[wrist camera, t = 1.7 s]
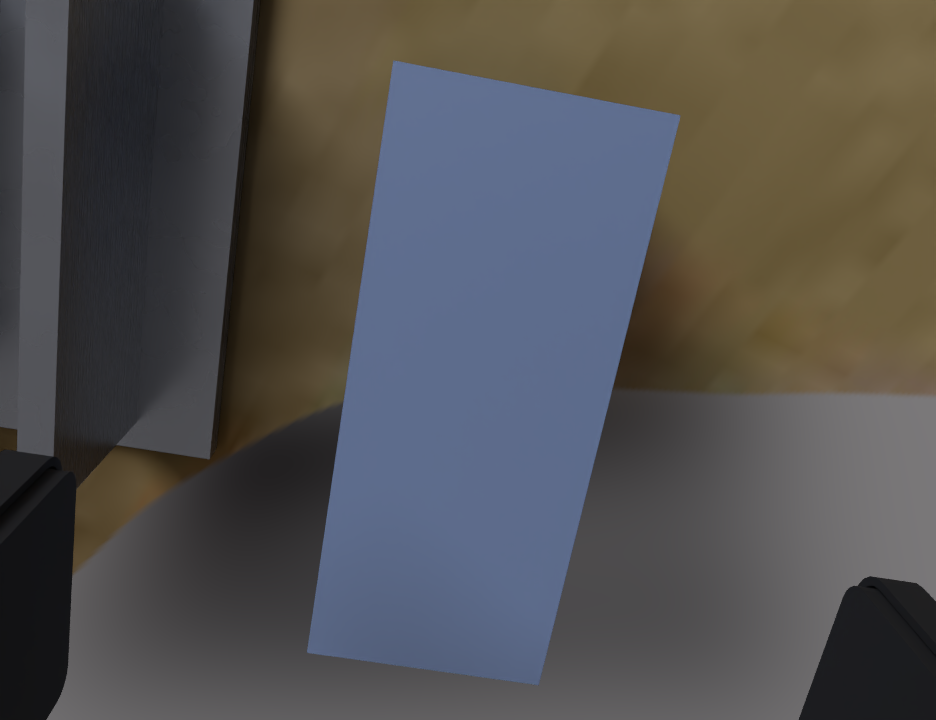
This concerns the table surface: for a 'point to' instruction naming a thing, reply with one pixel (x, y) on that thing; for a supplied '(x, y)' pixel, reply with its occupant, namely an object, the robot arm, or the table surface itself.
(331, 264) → the table surface
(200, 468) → the table surface
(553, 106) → the book
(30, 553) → the robot arm
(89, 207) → the book rack
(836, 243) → the table surface
